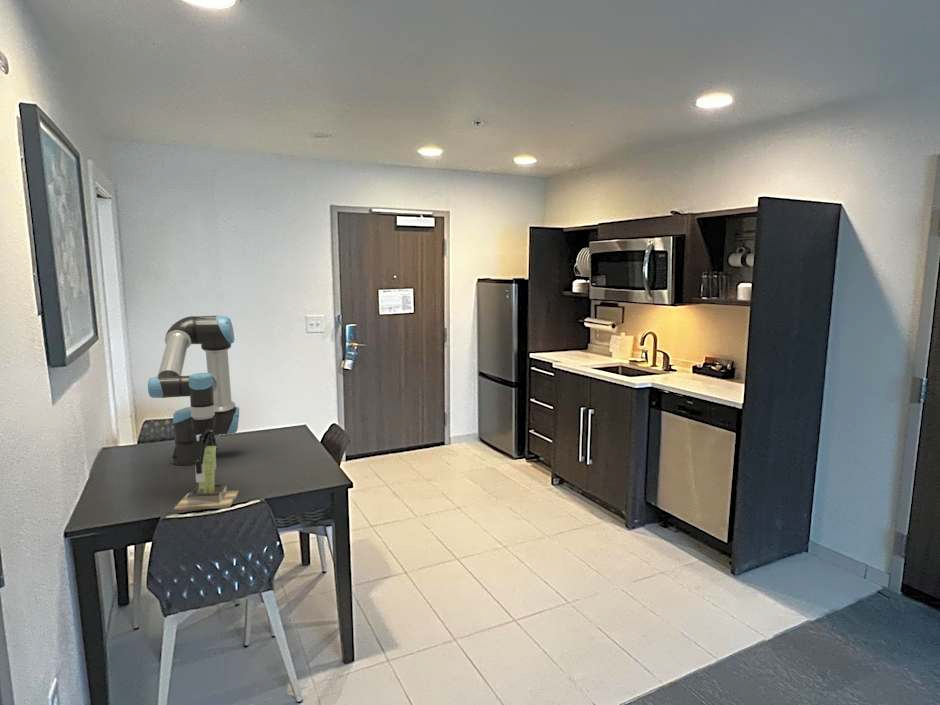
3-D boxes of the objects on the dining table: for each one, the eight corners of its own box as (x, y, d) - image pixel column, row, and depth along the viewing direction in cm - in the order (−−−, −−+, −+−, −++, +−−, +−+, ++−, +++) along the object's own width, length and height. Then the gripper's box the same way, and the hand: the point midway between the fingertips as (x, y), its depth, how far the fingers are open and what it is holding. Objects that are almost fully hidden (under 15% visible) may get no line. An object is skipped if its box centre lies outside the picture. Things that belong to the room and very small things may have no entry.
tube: (212, 494, 212) (210, 442, 210) (219, 498, 209) (216, 445, 206) (197, 498, 208) (194, 445, 205) (203, 502, 204) (200, 448, 202)
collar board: (188, 495, 214) (187, 484, 213) (239, 493, 216) (238, 481, 216) (174, 510, 200) (173, 498, 200) (229, 507, 203) (228, 495, 202)
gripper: (202, 409, 216) (206, 464, 219) (179, 426, 191) (183, 488, 194) (224, 408, 217) (227, 463, 220) (203, 425, 192) (206, 487, 195)
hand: (206, 475), depth 207 cm, fingers open, 13 cm apart
